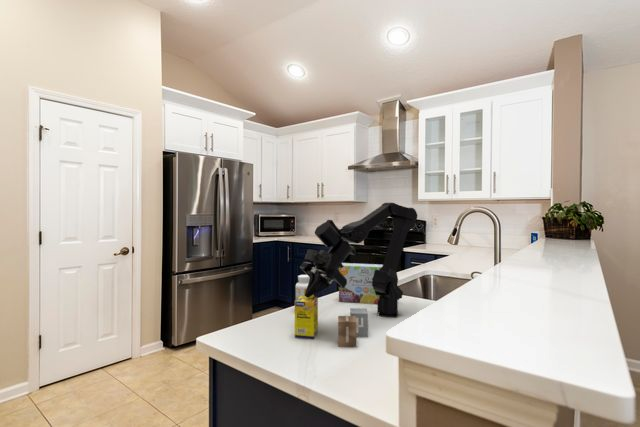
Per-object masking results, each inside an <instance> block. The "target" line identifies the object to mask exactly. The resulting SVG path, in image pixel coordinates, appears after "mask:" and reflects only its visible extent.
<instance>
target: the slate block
mask: <svg viewBox="0 0 640 427" xmlns="http://www.w3.org/2000/svg"><path fill="white" fill-rule="evenodd" d="M349 310H350V312H349V313H350V314H349V316H356V338H369V313H368V309H367V307H365V308H360V307H359V308H358V307H357V308H356V307H354V308H353V307H352V308H351V307H350V309H349Z"/></svg>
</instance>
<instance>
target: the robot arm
mask: <svg viewBox="0 0 640 427" xmlns="http://www.w3.org/2000/svg"><path fill="white" fill-rule="evenodd" d="M388 218H391V223H392V227H393V230H392V235H391V238H390V241H389V244H388V247H387V251H386V254H385V257H384V260H383V264H382V265H383V266H382V268H381V269H380V270H375V272H374V276H373V278H372V281H373V282H372V286H373V289H374V291H375V294H376V295H379V299H378V304H377V313H378V315H377V316H381V317H393V318H398V316H399V310H398V309H399V306H398V305H399V300H400V299H402V298H403V295H404V291H403V290H402V289H401V288H400V287H399V286H398V283H399V278H398V273H397V270H398V266H399V263H400V259H401V256H402V252H403V248H404V245H405V243H406V239H407V235H408V233H409V232H410V231H411V230H412V229H413V228H414V226H415V224H416V223H417V220H418V213H417V211H416V209H415V208H413V207H406V206H403V205H399V204H397V203H395V202H383V203H381V205H380V206H379V207H377V208H376V209H374V210H373V211H371V212H370V213H369V214H367V215H365V216H364V217H363V218H361V219H359V220H357V221H353V222H350V223H347V224H345V225H343V226H342V227H341V228H338V226H337V225H336V224H335V222H334V221H333V219H327V220H326V221H325V222H323V223H321V224H320V225H318V226H317V227H316V228H315V230H314V235H315V236H316V238H318V239H319V241H321V243H322V244H323V245H324V246H325V247H327V248H329V250H328V251H327V250H325V249H320V250H319V251H318V250H316V249H311V248H310V249H307V252H306V253H305V257H304V260H306V261H303V262H302V263H301V264H300V265H299V268H300V269H301V270H302V271H303V273H305V275H308V276H309V277H310V279H309V283H308V286H307V289H306V292H305V296H306V297H307V298H308V297H310V296H312V295H314V296H315V295H316V294H317V293H319V292H321V291H323V290H325V289H327V288H332V282H333V281H334V282H336V286H337V287H338V289H339V288H342V289H344V288H345V286H346V285H347V279H346V278H345V277H344V276H343V275H342V274H341V272H340V271H339V268H342V267H343V265H342V263H344V262H345V260H346V259H347V257H348V256H349V255H353V256H356V255H357V252H356V247H355V246H354V245H353V246H352V245H351V243H353V244H360V243H362V242H364V240H365V239H366V238H367V237H368V236H369V233H370V231H372V229H374V228H375V227H377V226H378V225H379V224H381V223H382V222H384V221H385V220H386V219H388ZM309 261H310V262H309ZM312 262H313V263H312Z"/></svg>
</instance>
